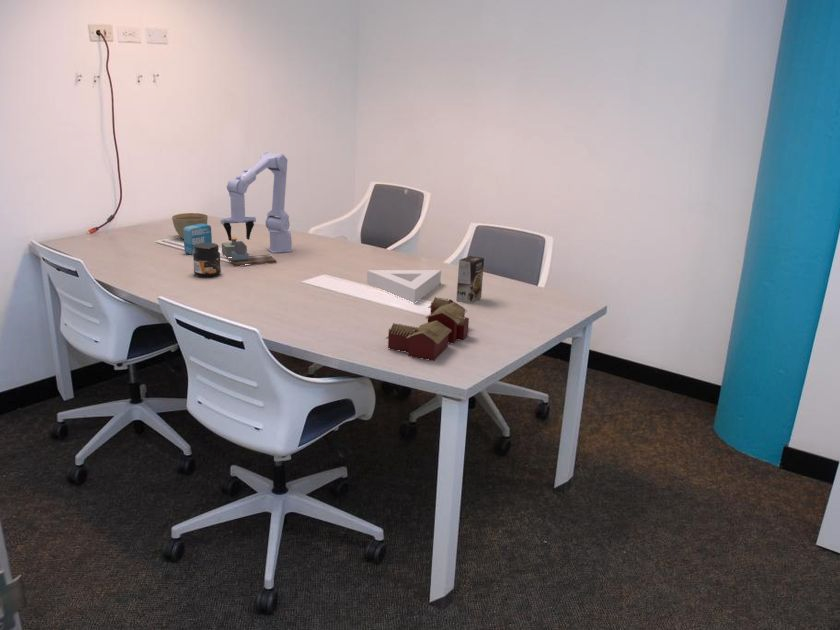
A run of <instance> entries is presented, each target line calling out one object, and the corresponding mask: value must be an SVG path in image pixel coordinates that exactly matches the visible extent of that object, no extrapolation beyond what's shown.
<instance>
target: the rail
mask: <svg viewBox="0 0 840 630" xmlns="http://www.w3.org/2000/svg"><path fill="white" fill-rule="evenodd" d="M229 260H230V261H231V262H230V261H229ZM228 261H229V262H230V264H231V265H232V266H234V267H241V266H240V265H245V264H258V265H266V264H265V263H269V264H277V260H276V258H274V257H273V255H272V254H262V255H261V254H260V255H259V254H258V255H249V259H248V260H242V261H234V258H228Z"/></svg>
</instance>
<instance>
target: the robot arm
mask: <svg viewBox="0 0 840 630" xmlns="http://www.w3.org/2000/svg"><path fill="white" fill-rule="evenodd" d="M259 158H260V159H259V160H258V161H257V162H256V163H255V164H254V165H253V166H252V167H251V168H244V169H243V171H242V172H241V173H240V174H239V175H237V176H236V177H235V178H231V179H230V180H228V181H227V182H228V183H227V186H226V189H227V191H228V196H229V198H230V216H231V217H226V218H220V224H221V225H222V226H223V228H224V229H225V232H226V234H227V238H228V242H229V241H230V242H232V225H231V224H241V223H242V224H243V223H244V224H245V230H246V231H245V232H246V235H245V236H246V239H247V240H251V239H250V237H251V232H252V230H253V228H254V226H255V223H256V222H257V218H256V217H255V216H246V206H245V205H246V204H245V203H246V201H245V194H247V190H248V188H249V186H250V185H251V184H252V183H254V182H255V181H256V180H257V175H259V174H260V173H262V172H263V171H265V170H266V169H267V170H269V171H270V172H271V173H272V174H273V186H272V187H273V188H272V189H273V190H272V202H271V205H272V206H271V210H270V211H268V212H267V214H266V219H265V222H264V223H265V227H266V228H267V229H268V232H269V247H267V248H266V249H267V250H268V251H270V253H273V254H274V253H275V254H276V253H287V252H293V249H292V246H293V245H292V234H291V231H289V229H290V226H291V225H290V220H289V219H290V215H289V214H288V213H287V212H286V211H285V203H286V188H287V186H286V185H287V174H288V173H287V171H288V158H287V157H286V156H285V154H284V153H283V154H282V153H276V152H275V153H274V152H268V151H267V152H266V151H265V152H264V153H263V154H261V155H260V157H259Z"/></svg>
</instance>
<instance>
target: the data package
mask: <svg viewBox="0 0 840 630" xmlns="http://www.w3.org/2000/svg"><path fill="white" fill-rule="evenodd" d="M183 234H184V240H183V247H184V248H183V249H184V253H186V254H188V255H192V256H193V253H194V252H195V251H194V245H196V244H199V243H213V241H212V238H213V237H212V226H211V225H209V224H207V225H206V224H197V225H192V226H187V227H185V228H184V229H183Z"/></svg>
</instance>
